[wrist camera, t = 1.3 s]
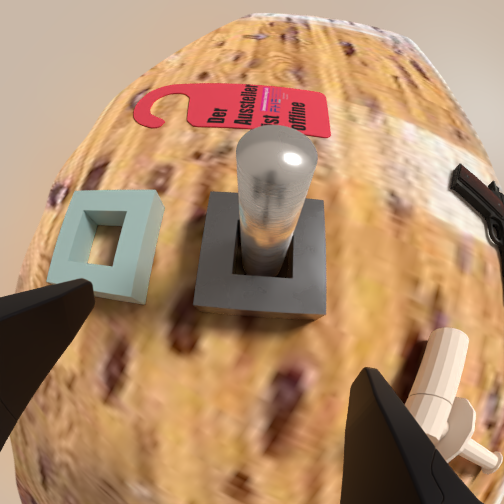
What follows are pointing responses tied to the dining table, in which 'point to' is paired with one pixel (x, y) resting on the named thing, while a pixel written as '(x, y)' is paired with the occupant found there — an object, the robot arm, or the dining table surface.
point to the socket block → (258, 287)
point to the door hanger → (243, 107)
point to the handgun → (482, 202)
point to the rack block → (129, 246)
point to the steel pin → (271, 193)
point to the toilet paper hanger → (447, 401)
